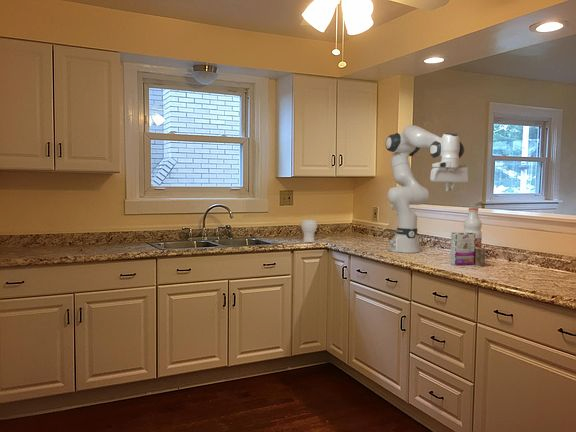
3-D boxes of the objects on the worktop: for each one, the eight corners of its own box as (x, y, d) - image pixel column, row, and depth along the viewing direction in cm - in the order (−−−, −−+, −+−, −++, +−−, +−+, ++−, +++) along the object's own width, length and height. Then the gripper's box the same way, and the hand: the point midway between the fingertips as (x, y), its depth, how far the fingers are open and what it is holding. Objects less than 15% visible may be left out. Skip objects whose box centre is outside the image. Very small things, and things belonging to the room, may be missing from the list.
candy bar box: (468, 263, 251) (470, 231, 250) (474, 265, 246) (476, 232, 245) (449, 263, 249) (450, 232, 247) (455, 265, 244) (456, 233, 243)
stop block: (460, 260, 259) (461, 244, 258) (464, 260, 259) (464, 244, 259) (480, 266, 241) (481, 248, 241) (484, 266, 242) (485, 248, 241)
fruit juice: (472, 257, 271) (474, 207, 269) (484, 260, 262) (486, 208, 260) (458, 258, 267) (460, 207, 265) (470, 261, 259) (472, 208, 257)
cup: (302, 243, 325) (302, 220, 324) (299, 241, 336) (300, 219, 335) (317, 243, 327) (318, 220, 326) (315, 241, 337) (315, 219, 336)
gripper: (464, 165, 258) (463, 191, 259) (429, 164, 253) (428, 190, 254) (471, 164, 252) (470, 191, 253) (435, 163, 247) (434, 191, 248)
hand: (448, 191), depth 253 cm, fingers closed
